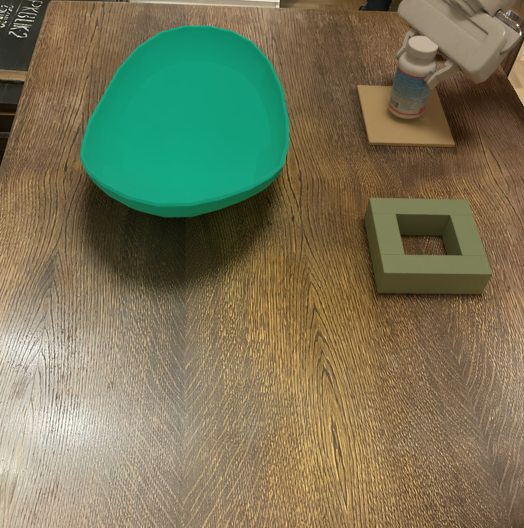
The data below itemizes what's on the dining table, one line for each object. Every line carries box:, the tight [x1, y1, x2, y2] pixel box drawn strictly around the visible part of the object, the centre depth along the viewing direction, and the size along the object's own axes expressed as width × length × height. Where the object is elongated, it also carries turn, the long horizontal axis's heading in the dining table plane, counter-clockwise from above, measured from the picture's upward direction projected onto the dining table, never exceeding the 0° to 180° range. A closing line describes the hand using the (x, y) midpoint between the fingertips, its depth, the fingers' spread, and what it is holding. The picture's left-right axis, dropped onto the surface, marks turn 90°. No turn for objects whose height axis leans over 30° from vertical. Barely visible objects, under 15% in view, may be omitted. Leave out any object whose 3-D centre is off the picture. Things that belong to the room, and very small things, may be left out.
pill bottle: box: [388, 36, 438, 119], centre depth 96 cm, size 6×6×11 cm
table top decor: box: [79, 24, 291, 218], centre depth 84 cm, size 40×28×13 cm
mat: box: [356, 84, 456, 148], centre depth 102 cm, size 14×16×1 cm
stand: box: [363, 197, 493, 295], centre depth 82 cm, size 14×14×4 cm
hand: (412, 72), depth 95 cm, fingers closed on pill bottle, 6 cm apart
